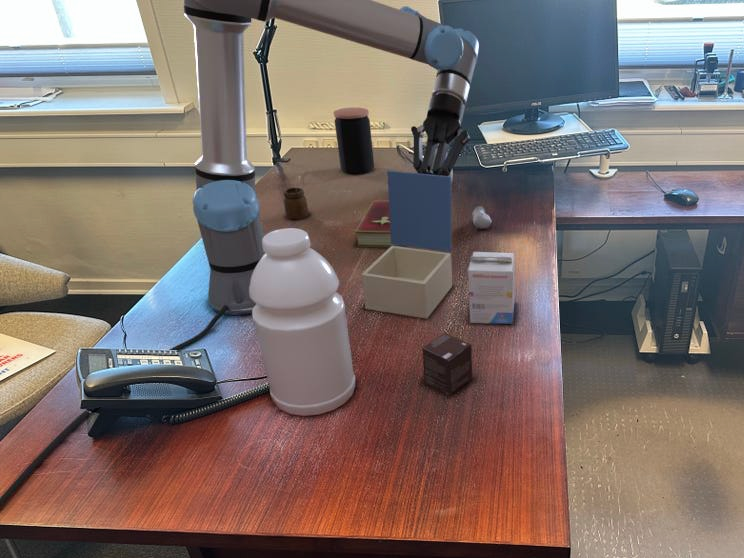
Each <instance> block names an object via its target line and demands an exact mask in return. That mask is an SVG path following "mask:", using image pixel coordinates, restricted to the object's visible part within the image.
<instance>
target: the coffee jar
mask: <svg viewBox="0 0 744 558" xmlns="http://www.w3.org/2000/svg"><path fill="white" fill-rule="evenodd" d="M369 114H370V113H369V110H368V109H367V108H365V107H364V108H363V107H343V108H339V109H336V110H334V111H333V116H334V128H335V135H336V143H337V150H338V157H339V158H338V159H339V164H340V166H339V167H340V170H341V171H342V172H343V173H344V174H346V175H352V176H353V175H357V176H358V175H365V174H368V173H370V172H372V171H373V169H374V168H375V162H374V159H375V158H374V150H373V141H372V139H373V138H372V131H371V120H370V118H369Z"/></svg>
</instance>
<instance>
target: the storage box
mask: <svg viewBox="0 0 744 558" xmlns="http://www.w3.org/2000/svg"><path fill="white" fill-rule="evenodd" d="M452 269H453V267H452V253H451V252H446V251H438V250H431V249H423V248H416V247H408V246H404V247H400V246H391V247H388V248H387V250H386V251H384V252H383V253H382V254H381V255H380V256H379V257H378V258H377V259H376V260H375V261H374V262H373V263H372V264H371V265H370V266H369V267H367V269H365V270H364V271H363V272H362V273H361V274H360V276H361V277H360V278H361V285H362V292H363V293H362V294H363V299H364V307H365V310H369V311H370V310H371V311H375V312H383V313H389V314H395V315H400V316H408V317H414V318H420V319H426V320H427V319H428V318H429V317H430V316H431V314H433V312H434V311H435V309H436V308H437V306H438V305H439V304H440V303H441V301H442V300H443V299H444V298H445V296H446V295H447V294H448V292H449V291H450V290H451V289H452V288H453V270H452Z"/></svg>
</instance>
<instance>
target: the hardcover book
mask: <svg viewBox="0 0 744 558" xmlns="http://www.w3.org/2000/svg"><path fill="white" fill-rule="evenodd" d="M354 234H356V238H357V242H356V245H355V247H358V248H359V247H360V248H390V247H391V246H400V247H405V246H403V245H396V244H391V232H390V212H389V200H373V201H372V202H371V204H370V205H369V207H368V209H367V210H366V212H365V213H364V215H363V217H362V218H361V220H360V222H359V223H358V225H357V226H356V229H355V230H354Z"/></svg>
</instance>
